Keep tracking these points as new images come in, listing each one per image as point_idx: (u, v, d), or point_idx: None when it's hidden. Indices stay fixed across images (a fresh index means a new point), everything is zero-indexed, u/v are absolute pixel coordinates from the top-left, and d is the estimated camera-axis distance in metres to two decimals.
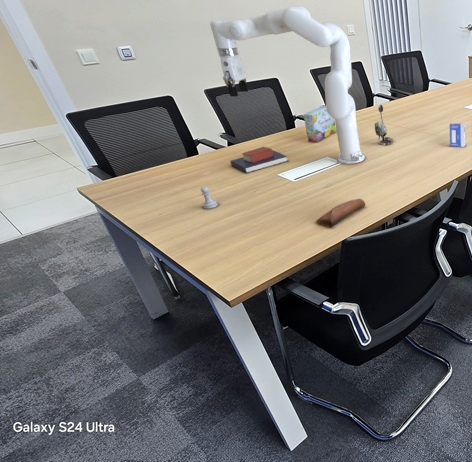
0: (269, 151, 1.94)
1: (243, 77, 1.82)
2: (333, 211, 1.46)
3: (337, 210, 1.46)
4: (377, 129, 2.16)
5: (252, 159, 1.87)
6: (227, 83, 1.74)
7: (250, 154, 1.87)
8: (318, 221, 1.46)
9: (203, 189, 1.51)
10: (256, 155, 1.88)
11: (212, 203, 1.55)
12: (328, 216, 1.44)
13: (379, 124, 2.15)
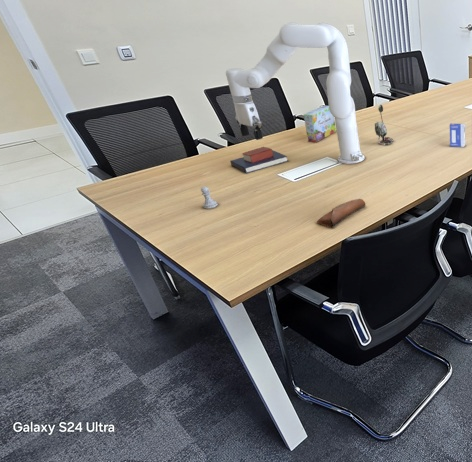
0: (269, 151, 1.94)
1: None
2: (334, 211, 1.45)
3: (338, 210, 1.46)
4: (377, 129, 2.16)
5: (252, 159, 1.87)
6: (260, 127, 1.82)
7: (250, 154, 1.87)
8: (319, 221, 1.46)
9: (203, 189, 1.51)
10: (256, 155, 1.88)
11: (212, 203, 1.55)
12: (329, 216, 1.44)
13: (379, 124, 2.15)
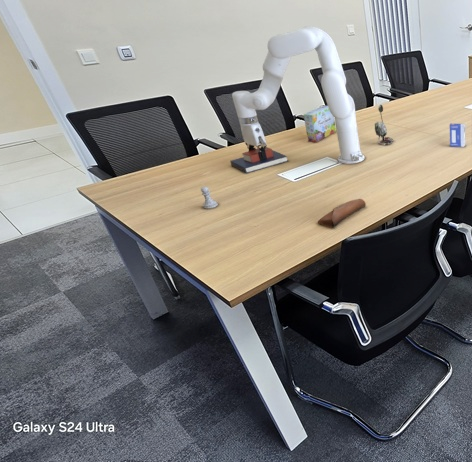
0: (269, 151, 1.94)
1: None
2: (334, 211, 1.45)
3: (338, 210, 1.46)
4: (377, 129, 2.16)
5: (252, 159, 1.87)
6: (264, 148, 1.88)
7: (250, 154, 1.87)
8: (319, 222, 1.45)
9: (203, 189, 1.51)
10: (256, 155, 1.88)
11: (212, 203, 1.55)
12: (330, 216, 1.44)
13: (379, 124, 2.15)
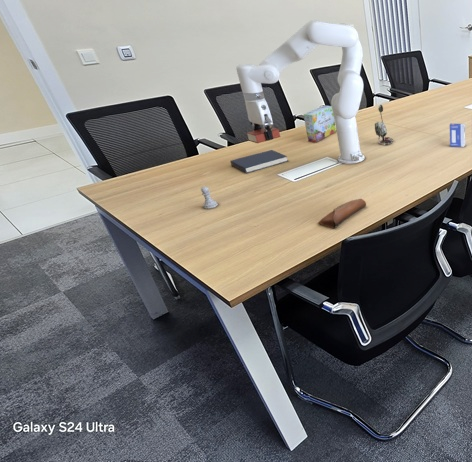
0: (276, 131, 1.80)
1: None
2: (336, 212, 1.45)
3: (339, 211, 1.46)
4: (377, 129, 2.16)
5: (257, 139, 1.73)
6: (270, 127, 1.74)
7: (255, 133, 1.73)
8: (321, 222, 1.45)
9: (203, 189, 1.51)
10: (262, 135, 1.75)
11: (212, 203, 1.55)
12: (331, 217, 1.44)
13: (379, 124, 2.15)
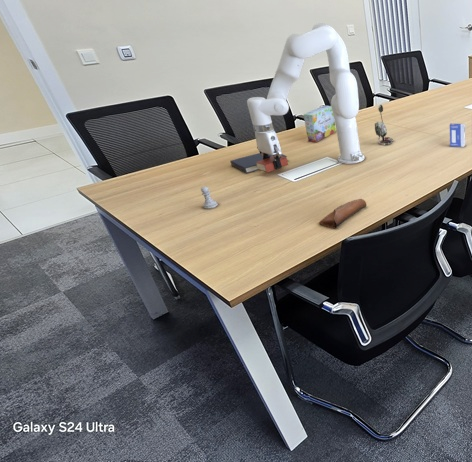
0: (284, 160, 1.85)
1: None
2: (336, 212, 1.45)
3: (340, 211, 1.46)
4: (377, 129, 2.16)
5: (266, 168, 1.79)
6: (279, 157, 1.79)
7: (264, 163, 1.79)
8: (321, 222, 1.45)
9: (203, 189, 1.51)
10: (271, 164, 1.80)
11: (212, 203, 1.55)
12: (332, 217, 1.44)
13: (379, 124, 2.15)
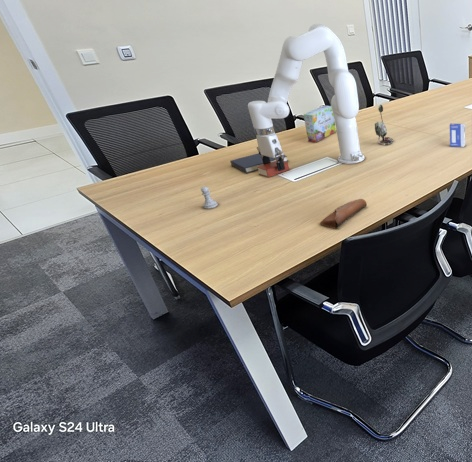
0: (285, 164, 1.86)
1: None
2: (337, 212, 1.45)
3: (341, 211, 1.46)
4: (377, 129, 2.16)
5: (268, 173, 1.80)
6: (282, 158, 1.79)
7: (266, 168, 1.80)
8: (322, 223, 1.45)
9: (203, 189, 1.51)
10: (272, 169, 1.81)
11: (212, 203, 1.55)
12: (333, 217, 1.44)
13: (379, 124, 2.15)
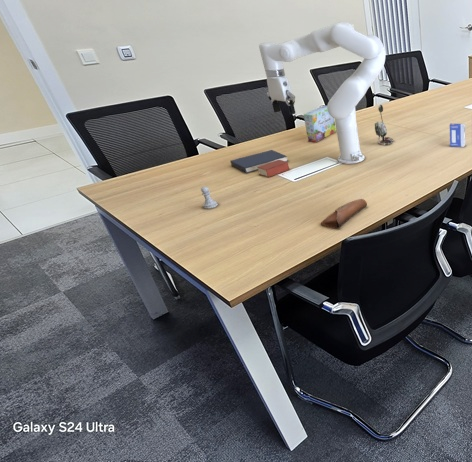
0: (285, 164, 1.86)
1: None
2: (338, 212, 1.45)
3: (342, 211, 1.46)
4: (377, 129, 2.16)
5: (268, 173, 1.80)
6: (293, 101, 1.82)
7: (266, 168, 1.80)
8: (323, 223, 1.45)
9: (203, 189, 1.51)
10: (272, 169, 1.81)
11: (212, 203, 1.55)
12: (334, 217, 1.43)
13: (379, 124, 2.15)
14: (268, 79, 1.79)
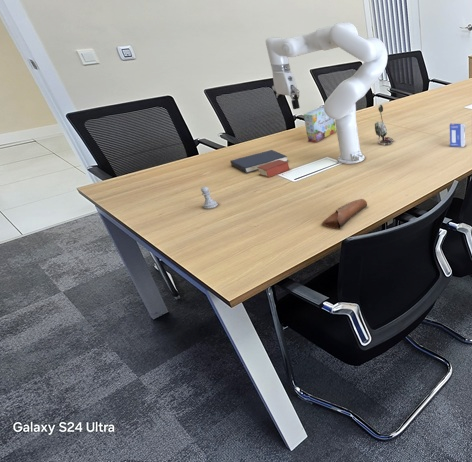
0: (285, 164, 1.86)
1: None
2: (339, 212, 1.45)
3: (343, 211, 1.46)
4: (377, 129, 2.16)
5: (268, 173, 1.80)
6: (298, 96, 1.85)
7: (266, 168, 1.80)
8: (324, 223, 1.44)
9: (203, 189, 1.51)
10: (272, 169, 1.81)
11: (212, 203, 1.55)
12: (335, 218, 1.43)
13: (379, 124, 2.15)
14: (274, 73, 1.83)
